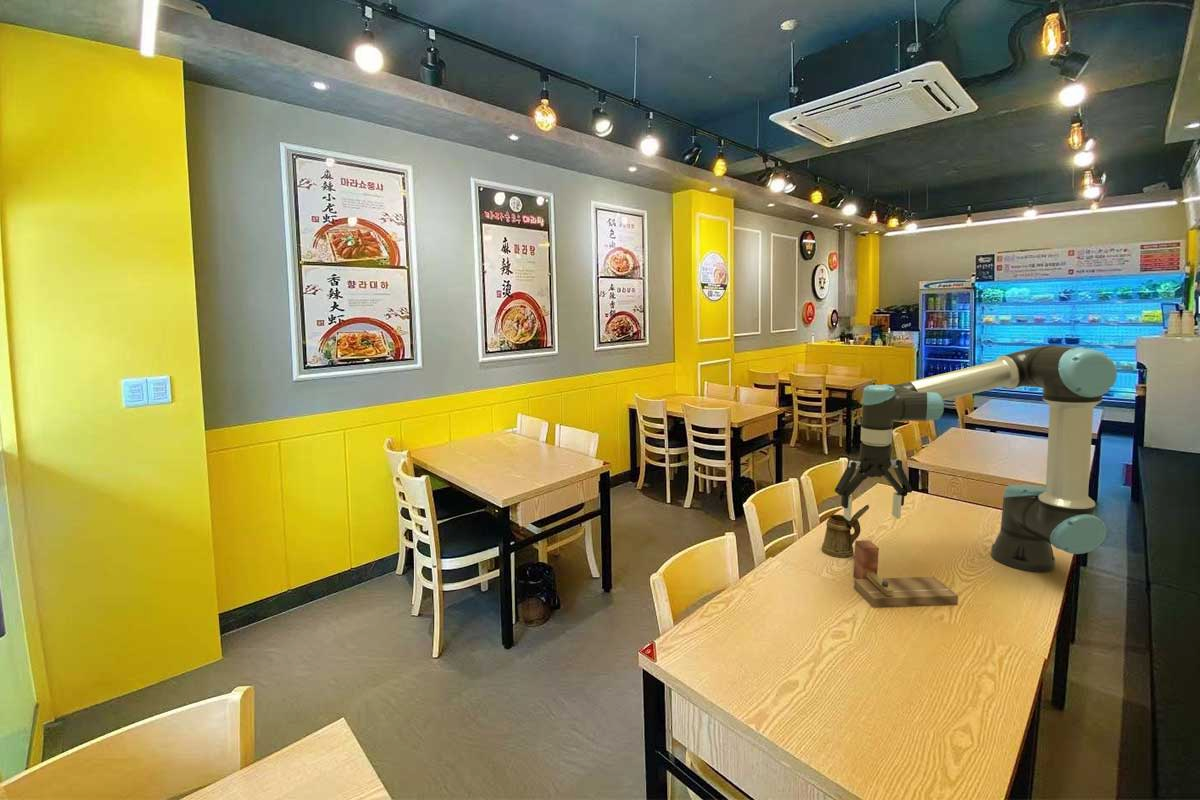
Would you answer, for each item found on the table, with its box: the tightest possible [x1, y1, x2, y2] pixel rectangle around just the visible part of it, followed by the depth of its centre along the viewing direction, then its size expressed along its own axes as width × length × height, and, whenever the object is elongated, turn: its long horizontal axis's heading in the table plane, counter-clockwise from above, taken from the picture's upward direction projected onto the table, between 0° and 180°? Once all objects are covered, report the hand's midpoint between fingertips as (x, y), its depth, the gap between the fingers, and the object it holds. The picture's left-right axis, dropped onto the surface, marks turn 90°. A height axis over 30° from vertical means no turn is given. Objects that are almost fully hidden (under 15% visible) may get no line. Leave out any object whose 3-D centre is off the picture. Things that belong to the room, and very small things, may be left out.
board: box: [853, 576, 959, 608], centre depth 143 cm, size 22×10×3 cm, turn 91°
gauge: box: [852, 539, 894, 596], centre depth 145 cm, size 4×15×11 cm, turn 1°
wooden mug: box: [821, 504, 870, 558], centre depth 167 cm, size 9×14×18 cm, turn 37°
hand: (871, 517), depth 148 cm, fingers open, 13 cm apart
